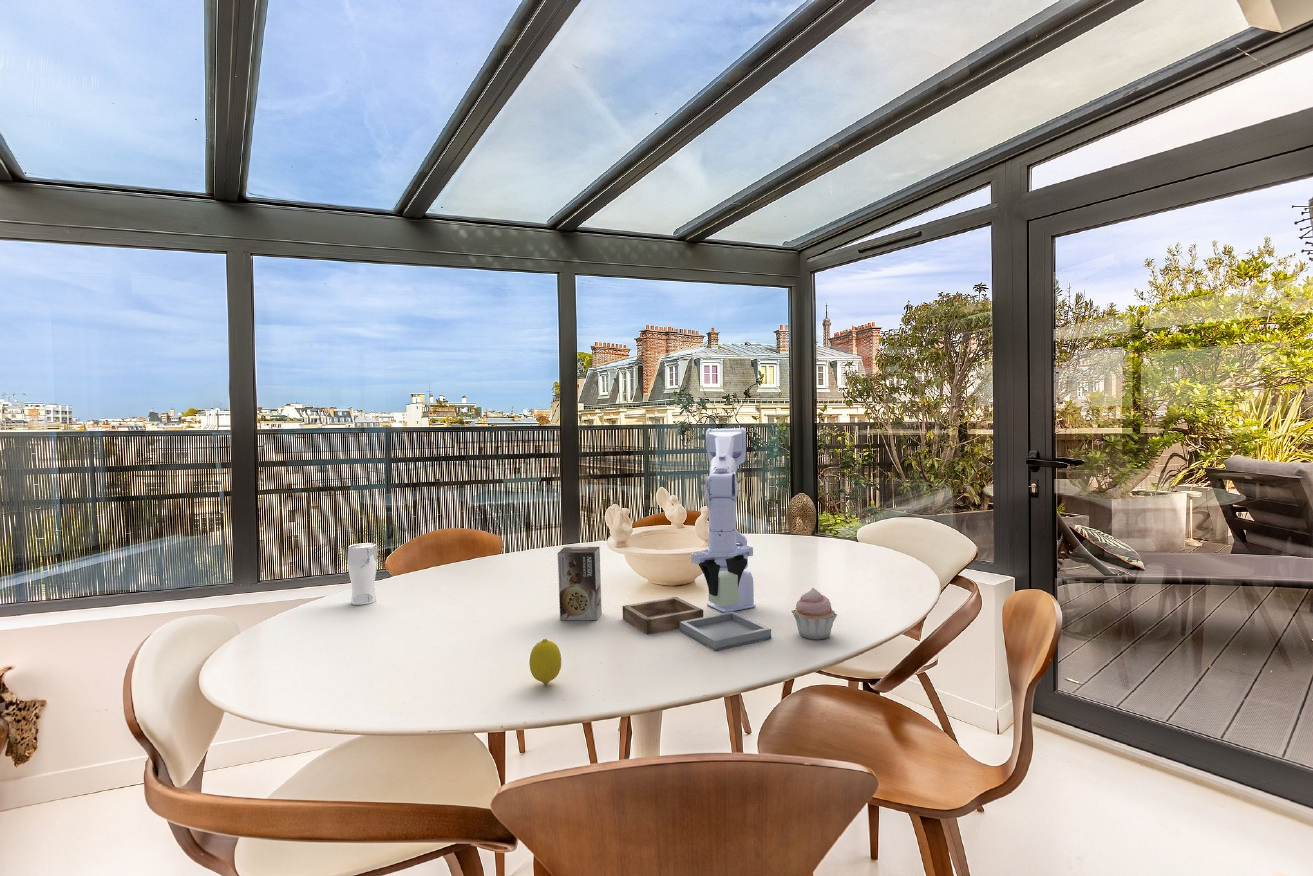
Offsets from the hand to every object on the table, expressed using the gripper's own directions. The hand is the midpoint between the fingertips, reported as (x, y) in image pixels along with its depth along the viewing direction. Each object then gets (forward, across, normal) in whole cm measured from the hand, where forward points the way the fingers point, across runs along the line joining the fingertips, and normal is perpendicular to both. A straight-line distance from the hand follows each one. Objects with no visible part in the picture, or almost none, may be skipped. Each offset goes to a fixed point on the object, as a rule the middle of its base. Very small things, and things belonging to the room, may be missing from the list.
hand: (723, 593), depth 132 cm
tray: (+9, 0, 0) cm, 9 cm away
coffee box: (+9, -22, +28) cm, 37 cm away
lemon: (+9, -41, -5) cm, 42 cm away
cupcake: (+9, +16, -10) cm, 21 cm away
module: (+2, 0, 0) cm, 2 cm away
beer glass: (+9, -67, +70) cm, 97 cm away
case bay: (+9, -7, +15) cm, 19 cm away
